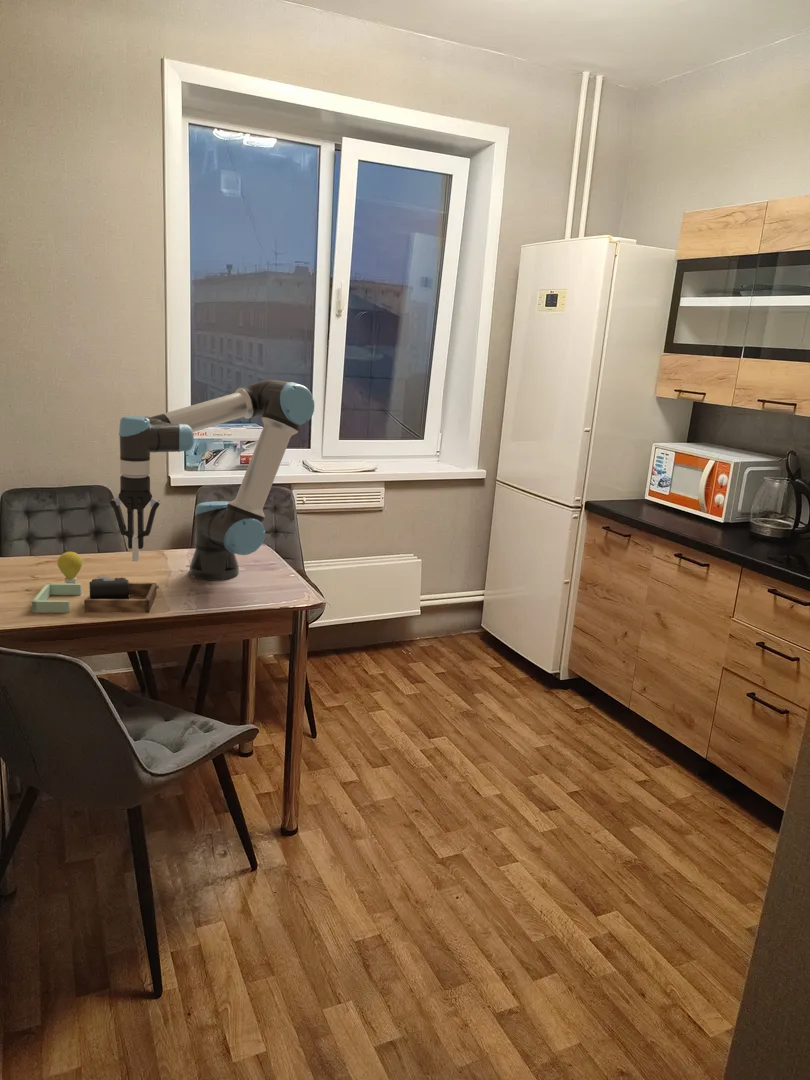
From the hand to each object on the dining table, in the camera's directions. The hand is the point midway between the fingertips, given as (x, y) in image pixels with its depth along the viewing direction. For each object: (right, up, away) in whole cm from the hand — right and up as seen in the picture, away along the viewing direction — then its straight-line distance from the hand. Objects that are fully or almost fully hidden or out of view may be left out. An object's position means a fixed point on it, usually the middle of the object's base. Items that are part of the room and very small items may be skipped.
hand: (136, 559), depth 209 cm
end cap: (-8, -12, +2) cm, 15 cm away
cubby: (-5, -12, +3) cm, 13 cm away
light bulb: (-24, -8, +14) cm, 29 cm away
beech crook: (-4, -9, +13) cm, 17 cm away
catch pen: (-21, -12, 0) cm, 24 cm away
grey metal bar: (-14, -8, +18) cm, 24 cm away
